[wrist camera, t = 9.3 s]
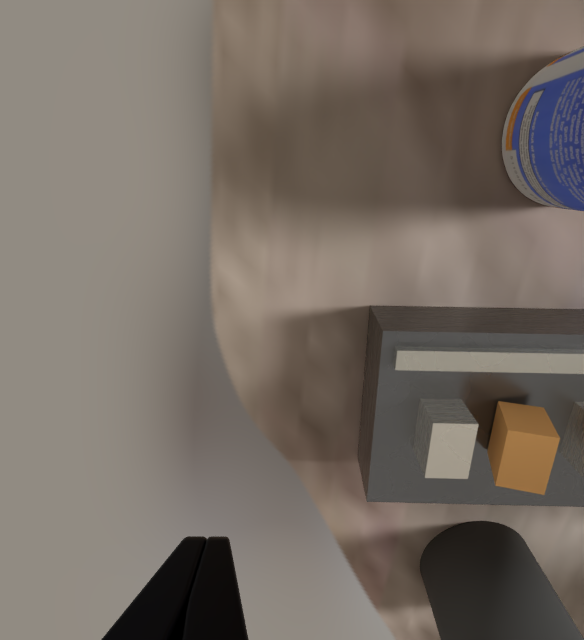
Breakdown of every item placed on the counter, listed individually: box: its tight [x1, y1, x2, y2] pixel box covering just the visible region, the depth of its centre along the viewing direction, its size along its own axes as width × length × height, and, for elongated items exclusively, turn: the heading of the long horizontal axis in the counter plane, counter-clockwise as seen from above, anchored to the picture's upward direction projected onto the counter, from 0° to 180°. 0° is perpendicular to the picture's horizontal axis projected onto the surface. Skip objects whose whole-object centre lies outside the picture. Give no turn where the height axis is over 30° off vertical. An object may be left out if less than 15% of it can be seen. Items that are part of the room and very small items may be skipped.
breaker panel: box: [358, 306, 584, 507], centre depth 17 cm, size 14×8×5 cm, turn 89°
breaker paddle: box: [487, 401, 560, 495], centre depth 15 cm, size 2×2×2 cm
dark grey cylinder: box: [420, 521, 584, 640], centre depth 20 cm, size 6×6×6 cm
